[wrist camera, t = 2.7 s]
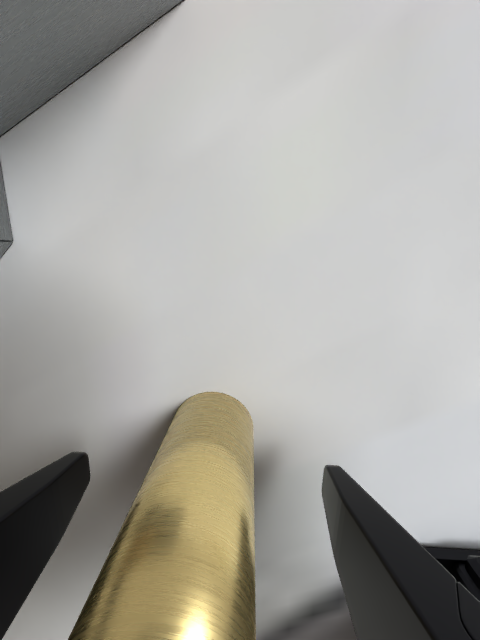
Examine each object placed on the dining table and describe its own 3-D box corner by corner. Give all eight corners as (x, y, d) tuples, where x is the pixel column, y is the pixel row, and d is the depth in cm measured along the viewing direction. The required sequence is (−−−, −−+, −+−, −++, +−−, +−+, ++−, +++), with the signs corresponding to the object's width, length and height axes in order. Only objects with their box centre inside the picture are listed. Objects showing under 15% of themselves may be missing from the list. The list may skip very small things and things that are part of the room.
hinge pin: (251, 464, 10) (254, 1082, 3) (174, 460, 11) (-43, 1041, 3) (254, 393, 10) (269, 947, 2) (172, 390, 10) (-130, 903, 2)
